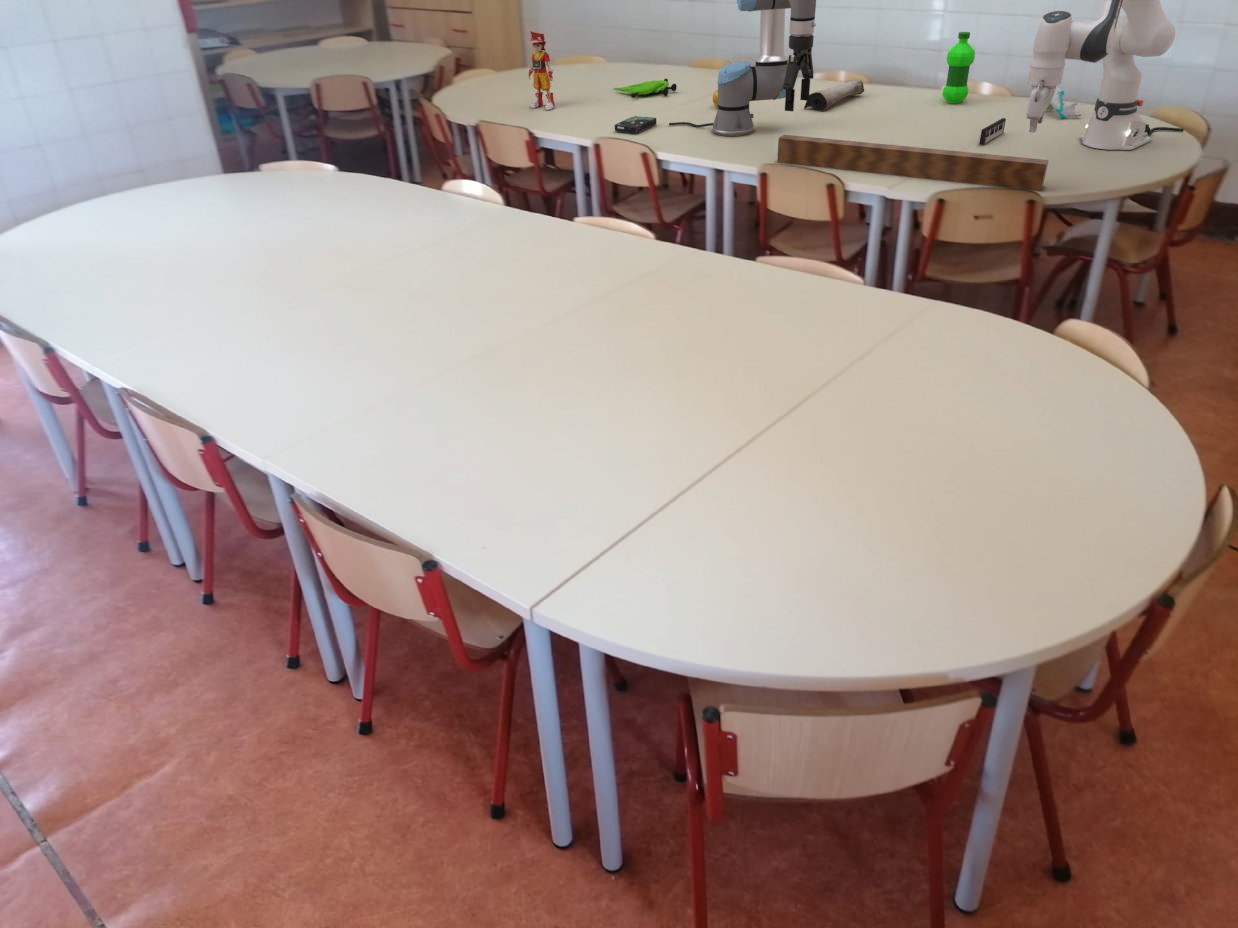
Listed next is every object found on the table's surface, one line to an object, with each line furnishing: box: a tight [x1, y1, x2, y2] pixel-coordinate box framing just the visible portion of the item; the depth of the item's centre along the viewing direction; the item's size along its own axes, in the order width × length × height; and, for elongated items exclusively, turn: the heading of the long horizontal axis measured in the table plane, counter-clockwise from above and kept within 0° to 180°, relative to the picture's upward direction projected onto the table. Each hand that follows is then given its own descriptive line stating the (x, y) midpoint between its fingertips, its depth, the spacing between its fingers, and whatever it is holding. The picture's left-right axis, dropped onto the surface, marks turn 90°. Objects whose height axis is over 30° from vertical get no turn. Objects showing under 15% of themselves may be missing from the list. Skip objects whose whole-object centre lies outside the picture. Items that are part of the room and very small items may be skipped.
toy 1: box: [527, 31, 556, 111], centre depth 374 cm, size 12×9×30 cm
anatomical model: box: [1045, 86, 1082, 119], centre depth 330 cm, size 15×10×10 cm
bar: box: [776, 134, 1050, 192], centre depth 283 cm, size 83×5×8 cm, turn 59°
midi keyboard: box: [978, 117, 1007, 146], centre depth 310 cm, size 18×1×5 cm, turn 138°
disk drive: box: [614, 115, 657, 135], centre depth 346 cm, size 10×3×15 cm
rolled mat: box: [803, 79, 865, 112], centre depth 362 cm, size 30×9×10 cm
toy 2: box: [612, 78, 677, 99], centre depth 396 cm, size 28×5×30 cm
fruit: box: [712, 89, 718, 108], centre depth 365 cm, size 8×8×8 cm
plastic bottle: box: [942, 31, 976, 104], centre depth 348 cm, size 10×10×25 cm
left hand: (796, 105), depth 292 cm, fingers open, 13 cm apart
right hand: (1035, 127), depth 259 cm, fingers open, 8 cm apart
